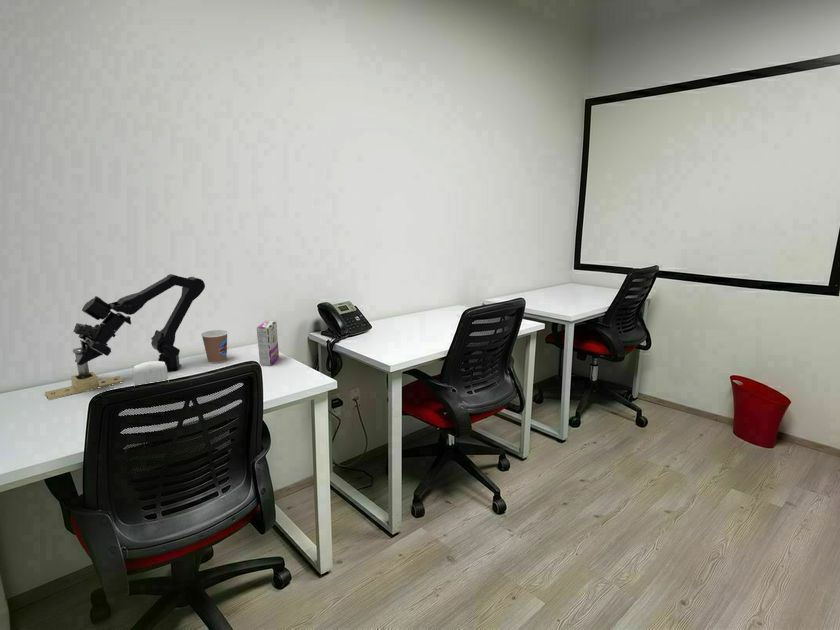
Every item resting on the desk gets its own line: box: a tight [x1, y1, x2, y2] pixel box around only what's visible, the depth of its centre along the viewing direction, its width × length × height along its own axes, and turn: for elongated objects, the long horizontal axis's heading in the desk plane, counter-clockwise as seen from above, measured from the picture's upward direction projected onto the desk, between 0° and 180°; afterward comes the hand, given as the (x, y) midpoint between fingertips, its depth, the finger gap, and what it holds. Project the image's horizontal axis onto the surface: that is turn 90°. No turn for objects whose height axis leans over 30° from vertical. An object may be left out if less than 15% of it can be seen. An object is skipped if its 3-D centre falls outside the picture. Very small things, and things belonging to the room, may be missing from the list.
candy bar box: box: [256, 320, 280, 367], centre depth 201 cm, size 11×5×16 cm, turn 179°
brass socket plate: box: [44, 371, 125, 401], centre depth 172 cm, size 23×7×4 cm, turn 136°
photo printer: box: [132, 360, 169, 385], centre depth 165 cm, size 10×4×12 cm, turn 123°
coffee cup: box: [201, 329, 229, 364], centre depth 202 cm, size 10×10×12 cm
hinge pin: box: [72, 346, 90, 379], centre depth 171 cm, size 4×4×12 cm
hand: (77, 363), depth 170 cm, fingers closed on hinge pin, 3 cm apart
